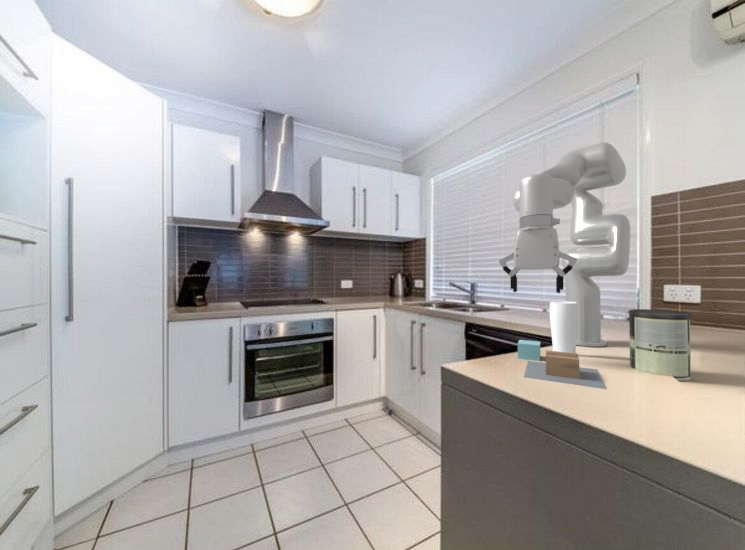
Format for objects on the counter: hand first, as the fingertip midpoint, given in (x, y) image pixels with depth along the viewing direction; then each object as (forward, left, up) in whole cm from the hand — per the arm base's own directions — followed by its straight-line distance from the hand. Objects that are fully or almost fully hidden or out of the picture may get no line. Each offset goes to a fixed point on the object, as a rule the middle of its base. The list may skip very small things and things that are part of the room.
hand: (536, 292), depth 77 cm
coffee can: (-5, +24, -18) cm, 31 cm away
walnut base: (+9, +5, -17) cm, 20 cm away
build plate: (+9, +5, -18) cm, 21 cm away
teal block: (-2, -2, -18) cm, 18 cm away
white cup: (-12, +6, -18) cm, 23 cm away
